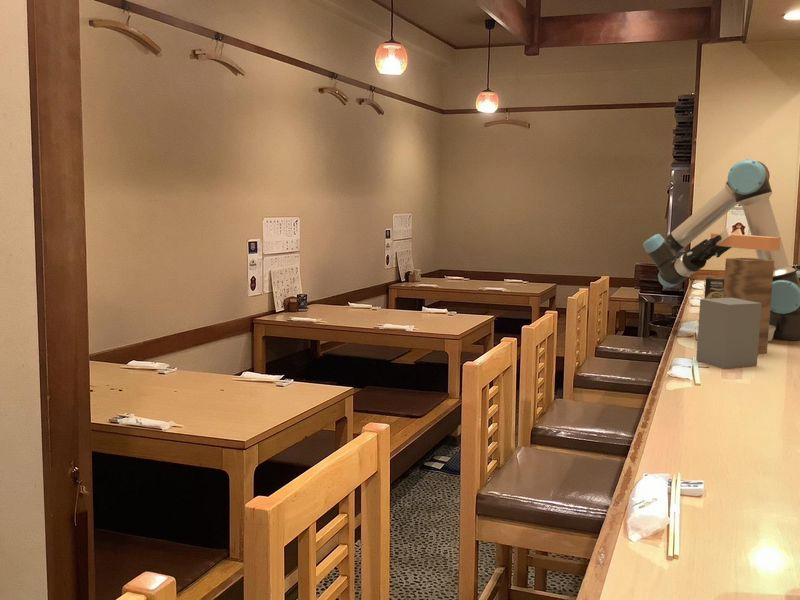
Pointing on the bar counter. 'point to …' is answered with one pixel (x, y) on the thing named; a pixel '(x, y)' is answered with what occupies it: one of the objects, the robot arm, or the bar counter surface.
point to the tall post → (751, 288)
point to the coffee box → (714, 288)
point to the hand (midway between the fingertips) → (734, 232)
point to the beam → (751, 242)
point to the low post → (728, 332)
